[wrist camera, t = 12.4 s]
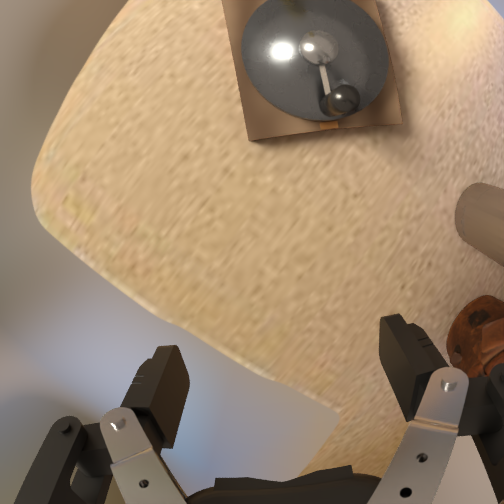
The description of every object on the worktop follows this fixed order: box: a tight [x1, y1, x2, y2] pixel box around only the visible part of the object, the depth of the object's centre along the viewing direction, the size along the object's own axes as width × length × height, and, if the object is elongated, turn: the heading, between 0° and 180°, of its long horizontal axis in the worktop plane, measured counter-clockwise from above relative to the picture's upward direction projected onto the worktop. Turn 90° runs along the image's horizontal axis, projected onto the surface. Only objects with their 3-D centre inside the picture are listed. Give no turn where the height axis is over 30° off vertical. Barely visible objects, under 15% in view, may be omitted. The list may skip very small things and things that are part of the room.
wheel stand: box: [222, 0, 403, 141], centre depth 31 cm, size 18×18×3 cm
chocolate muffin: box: [447, 295, 504, 378], centre depth 35 cm, size 18×20×18 cm
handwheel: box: [241, 0, 389, 121], centre depth 25 cm, size 16×16×9 cm
